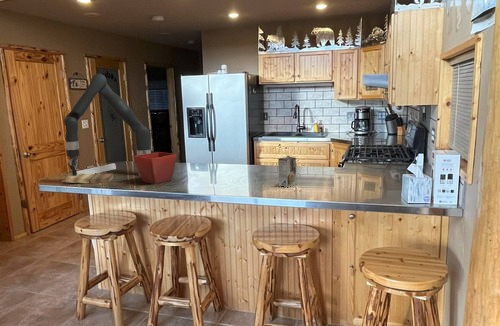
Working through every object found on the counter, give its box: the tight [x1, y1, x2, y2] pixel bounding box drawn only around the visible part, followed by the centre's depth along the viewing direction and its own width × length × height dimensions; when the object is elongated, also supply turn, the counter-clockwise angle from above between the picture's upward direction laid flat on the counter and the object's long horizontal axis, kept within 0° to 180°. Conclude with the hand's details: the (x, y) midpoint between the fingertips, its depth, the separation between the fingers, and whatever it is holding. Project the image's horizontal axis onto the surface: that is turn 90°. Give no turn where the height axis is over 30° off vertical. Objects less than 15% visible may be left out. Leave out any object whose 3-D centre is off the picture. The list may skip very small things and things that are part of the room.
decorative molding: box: [67, 163, 117, 176], centre depth 264 cm, size 34×5×10 cm
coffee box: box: [277, 156, 297, 188], centre depth 207 cm, size 9×6×16 cm
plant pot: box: [133, 151, 177, 185], centre depth 227 cm, size 19×19×17 cm
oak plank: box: [64, 174, 96, 184], centre depth 233 cm, size 14×14×3 cm
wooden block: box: [89, 173, 114, 184], centre depth 235 cm, size 11×14×3 cm
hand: (74, 175), depth 232 cm, fingers closed
